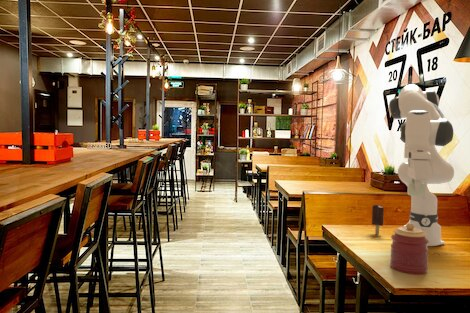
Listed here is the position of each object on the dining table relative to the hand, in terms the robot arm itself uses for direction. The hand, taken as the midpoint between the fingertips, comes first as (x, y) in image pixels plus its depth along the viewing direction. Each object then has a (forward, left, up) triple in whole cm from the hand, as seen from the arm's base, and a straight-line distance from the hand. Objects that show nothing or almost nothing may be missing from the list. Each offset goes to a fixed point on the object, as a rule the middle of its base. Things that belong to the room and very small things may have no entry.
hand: (415, 190), depth 145 cm
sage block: (0, 0, -2) cm, 2 cm away
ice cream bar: (-50, -10, -30) cm, 59 cm away
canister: (+1, -2, -30) cm, 30 cm away
